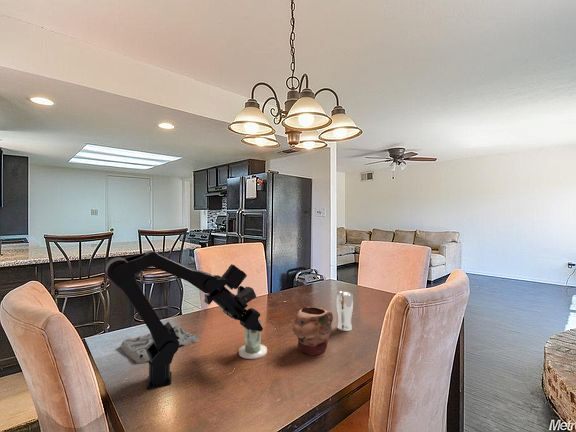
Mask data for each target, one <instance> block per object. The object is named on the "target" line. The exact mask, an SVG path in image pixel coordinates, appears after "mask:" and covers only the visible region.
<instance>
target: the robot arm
mask: <svg viewBox="0 0 576 432" xmlns="http://www.w3.org/2000/svg"><path fill="white" fill-rule="evenodd" d="M151 267H153V268H156V269H158V270H161V271H162V272H165V273H168V274H170V275H172V276H175V277H177V278H180V279H182V280H184V281H187V282H188V283H189V284H191V285H192V286H193V287H195V288H197V289H198V290H199V291H201V292H203V293H205V294H204V303H205V304H207V305H210V304H211V303H215V304H216V305H217V306H219V307H220V309H222V312H223V313H224V314H225V315H226V316H228V317H230V318H231V319H234V320H237V321H239V324H240V325H241V326H242V327H243V328H244V329H245V328H246V329H247V330H255V331H261V332H262V331H263V330H264V328H263V326H262V323H261V324H260V323H259V321H258V319H259V318H260V317H261V313H260V312H259V311H258V310H256V309H255V308H253V307H251V308H248V309H247V307H248V303H250V302H251V301H252V300H254V299H256V298H257V294H256V293H255V290H254V288H252V287H251V286H245V287H244V286H243V285H241V284H242V283H243V281H244V280H246V278H247V276H248V275H247V273H245V271H244V270H241V269H240V268H239V267H237V266H236V265H235V264H232V263H231V264H230V265H229V267H228V268H227V269H226V271H224V273H223V274H222V275H219V274H218V275H217V274H214V275H213V274H211V273H209V272H206V271H202V270H198V269H193V268H189V267H188V266H186V265H183V264H181V263H178V262H177V261H174V260H172V259H170V258H168V257H165V256H163V255H162V254H160V253H158V252H156V251H154V250H148V251H146V252H143V253H139V254H135V255H132V256H126V257H120V256H119V257H118V256H117V257H114V258H112V259H110V260H108V262H107V264H106V266H105V271H106V274H107V276H108V278H109V279H110V281H111V282H112V283H113V284H115V285H116V287H117V288H119V289H120V290H121V291H122V292H123V293H124V294H125V295H126V296H127V298H128V300H129V302H130V303H131V304H132V306H133V308H134V309H135V311H136V312H137V313H138V315H139V316H140V319H142V321H143V323H144V324H145V325H146V328H147V329H148V331H149V334H151V336H152V339H153V343H152V344H151V345H150V347H149V348H148V349H147V350H146V352H147V354H148V357H149V359H150V360H149V361H148V376H147V381H146V387H145V389H147V390H149V389H153V388H159V387H160V388H161V387H163V386H164V387H165V386H169V385H171V384H172V371H171V364H172V361H173V359H174V356H175V354H176V353H177V351H178V350H179V349H180V348H179V347H180V346H179V341H178V340H177V339H180V338H179V336H178V335H177V334H176V332H175V331H174V329H173V328H174V327H173V325H172V324H171V323H170V322H169V321H167V322H166V323H165V324H164V323H163V322H162V320H161V319H160V318H159V316H158V315H157V313H156V312H155V310H154V308H153V307H152V305H151V304H150V302H149V301H148V299H147V297H146V296H145V294H144V292H143V291H142V289H141V288H140V286H139V283H138V281H137V278H136V275H135V274H138V273H140V272H142V271H144V270H147V269H148V268H151ZM230 290H231V291H232V290H236V291H237V292H236V294H235V293H232V292H231V291H230Z"/></svg>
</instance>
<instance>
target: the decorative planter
mask: <svg viewBox="0 0 576 432" xmlns="http://www.w3.org/2000/svg"><path fill="white" fill-rule="evenodd" d="M333 320H334V316H333V313H332V311H330V310H326V309H325V308H321V307H316V306H303V308H301V309H299V310H298V312H297V315H296V317H295V320H293V322H292V332H293V333H294V335H295V336H296V337H297V347H298V350H299V351H300V352H302V353H305V354H307V355H311V356H316V355H320V354H323V353H324V352H325V351H326V350H327V348H328V343H329V338H330V334H331V332H332V327H333V325H332V324H333Z"/></svg>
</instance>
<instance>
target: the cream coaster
mask: <svg viewBox="0 0 576 432" xmlns="http://www.w3.org/2000/svg"><path fill="white" fill-rule="evenodd" d="M267 353H268V348H267V346H265V344H261V343H260V351H259V352H258V353H254V354H250V353H246V352H245V344H244V345H242V346H241V347H239V349H238V356H239V357H241V358H243V359H246V360H257V359H261V358H263V357H265V356H266V355H267Z"/></svg>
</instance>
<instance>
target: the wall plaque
mask: <svg viewBox="0 0 576 432" xmlns="http://www.w3.org/2000/svg"><path fill="white" fill-rule="evenodd" d="M173 329H174V331H175V332H176V334H177V335H178V336H179V338H180V339H177V340H178V341H179V347H180V346H187V345H190V344H193V343H197V342H199V340H200V339H199V336H198V335H197V334H192V333H190V332H187V331H185V330H184V329H183V328H182V326H180V325H174V327H173ZM152 343H153V339H152V336H151V333H147V334H145V335H142V336H141V335H140V336H138V337H133V338H126V339H124V340H123V341H122V342H121V344H120V346H121V351H123V352H124V353H125V354H126V355H127V356H128V357H129V358H131V359H132V360H133V361H135V363H137V364H142V365H143V364H146V363H147V362H149V360H150V359H149V357H148V354H147V352H146V350H147V349H148V348H149V347H150V345H151V344H152Z"/></svg>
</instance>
